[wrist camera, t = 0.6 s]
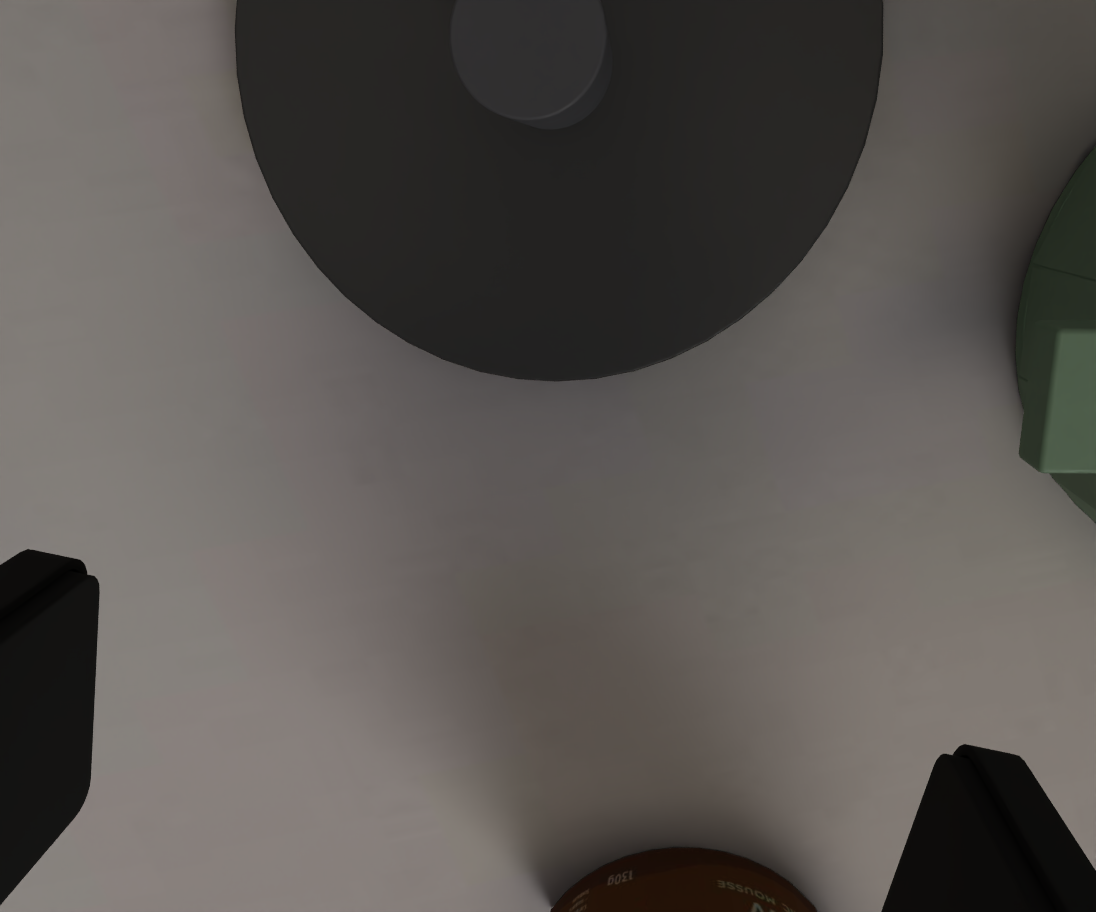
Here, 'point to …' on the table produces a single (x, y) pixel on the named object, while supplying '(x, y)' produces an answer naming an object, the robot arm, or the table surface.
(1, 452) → the table surface
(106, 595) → the table surface
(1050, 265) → the cooker
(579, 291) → the lid
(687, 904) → the food container
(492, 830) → the table surface
